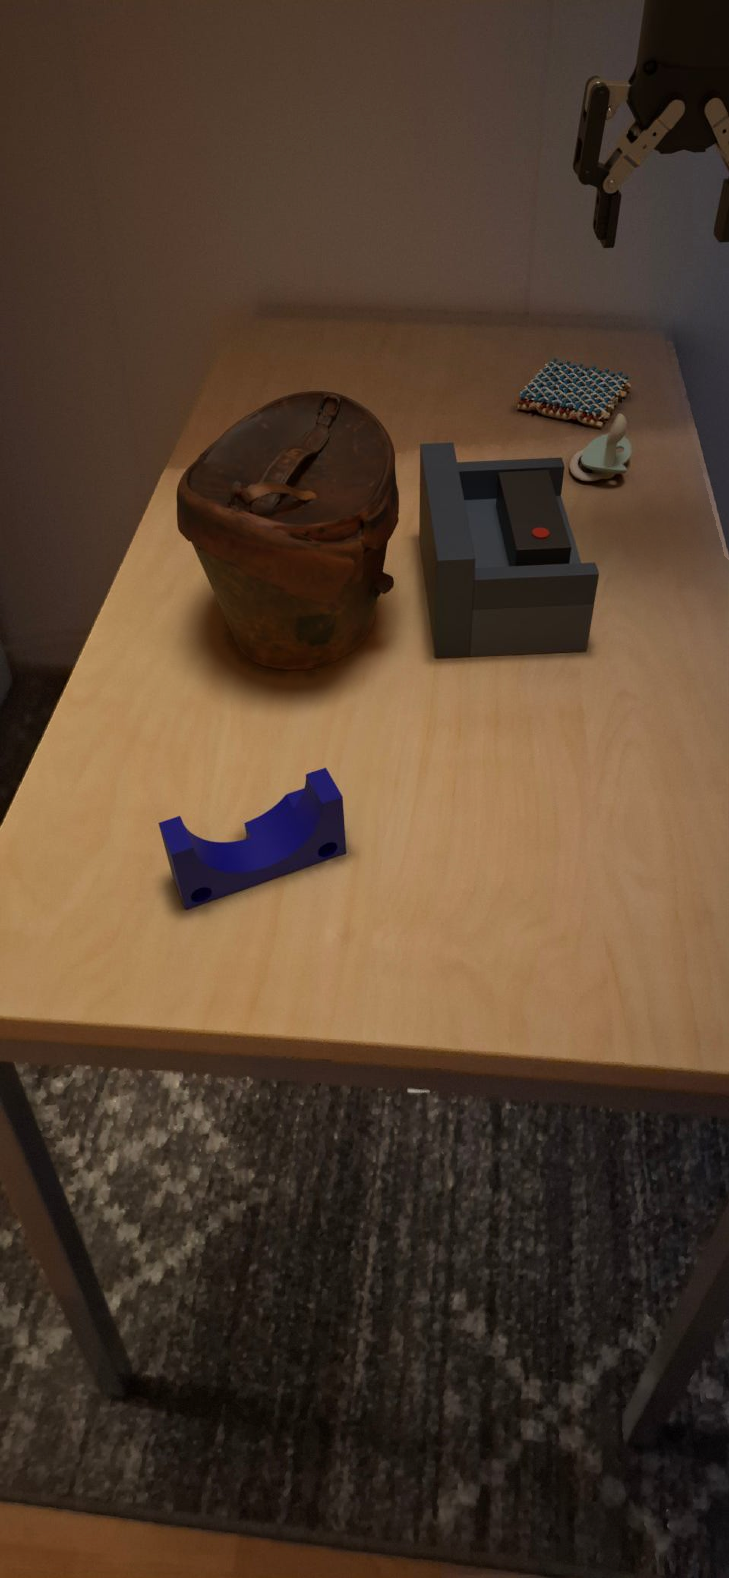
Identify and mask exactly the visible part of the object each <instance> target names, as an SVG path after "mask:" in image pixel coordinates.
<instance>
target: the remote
mask: <svg viewBox="0 0 729 1578" xmlns="http://www.w3.org/2000/svg"><path fill="white" fill-rule="evenodd" d="M496 509H497V514H498V518H499V522H500V527H501V531H502V536H503V540H504V545H505V549H506V553H507V558H508V562H509V566H530V565H552V564H569V562H570V555H571V544H570V541H569V537H568V534H567V531H566V527H565V524H564V521H563V517H562V514H561V511H560V507H559V504H558V501H557V497H556V494H555V491H554V487H553V484H552V481H551V477H550V474H549V471H548V470H540V471H518V472H499V473H498V483H497V497H496Z"/></svg>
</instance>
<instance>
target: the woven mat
mask: <svg viewBox="0 0 729 1578" xmlns="http://www.w3.org/2000/svg"><path fill="white" fill-rule="evenodd" d="M557 361H558V358H556V357H554V358H552V360H551V361H550V362H548V363H545V364H544V366H545V367H544V368H542V369H539V372H538V373H537V374H535V375H534V376H535V378H533V379H530V380H529V382H528V384H527V385H524V388H525V389H523V390H521V391H520V392H519V394H520V395H519V396H518V398H519V401H518V404H517V407H516V409H517V410H519V411H527V412H528V411H529V412H530V411H535V412H536V411H537V412H538V413H539V414H541V415H543V416H546V417H550V418H554V419H558V420H563V421H568V420H574V421H578V422H579V423H581V424H583V425H585V426H588V427H593V428H597V429H600V430H601V429H602V428H603V426H604V422H603V421H605V420H609V419H610V418H611V412H612V411H614V409H615V406H618V403H619V400H620V399H626V397H627V396H628V393H627V391H628V390H630V389H631V388H632V384H631V383H630V382H629V377H630V376H629V375H625V376H623V371H618V373H617V375H616V372H612V373H609V372H610V369H609V368H606V369H604V372H603V370H601V369H599V370H596V368H597V366H591V369H590V368H589V367H583V366H584V363H578V366H577V365H576V364H573V365H570V364H571V361H569V360H566V361H565V364H564V362H563V361H560V362H557ZM608 373H609V374H608Z"/></svg>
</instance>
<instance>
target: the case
mask: <svg viewBox="0 0 729 1578" xmlns="http://www.w3.org/2000/svg"><path fill="white" fill-rule="evenodd" d="M399 515H400V493H399V488H398V484H397V474H396V450H395V447H394V443H393V441H392V439H391V436H390V435H389V433H388V431H387V429H386V428H385V426H384V425H383V424H382V422H381V421H380V420H379V419H378V418H377V416H376V415H375V414H374V413H373V412H371V410H369V409H368V408H366V407H365V406H364V405H362V404H361V403H360V402H358V401H356V400H354V399H352V398H350V397H348V396H346V395H343V394H340V393H337V392H333V391H327V390H309V391H308V390H307V391H301V392H294V393H290V394H288V395H284V396H281V397H279V398H277V399H274V400H272V401H270V402H268V403H265V404H264V405H262V407H260V408H257V409H256V410H254V411H253V412H250V413H249V414H247V415H245V416H244V417H243V418H241V419H239V420H238V421H236V422H235V423H234V424H233V425H232V426H230V427H229V428H228V429H226V430H225V431H224V432H223V433H222V434H221V435H220V436H219V438H217V440H215V441H214V442H212V443H211V444H210V445H208V447H206V448H205V450H204V451H203V452H201V453H200V454H199V455H198V458H196V460H194V461H193V463H192V464H190V465H189V466H188V467H187V468H186V470H185V471H184V472H183V473H182V475H181V477H180V480H179V481H178V484H177V488H176V522H177V523H176V525H177V529H178V531H179V533H180V534H181V536H182V537H184V539H186V541H188V542H190V543H191V544H192V546H193V549H194V551H195V554H196V556H197V558H198V560H199V563H200V564H201V567H202V569H203V571H204V573H205V576H206V578H207V580H208V583H209V584H210V587H211V590H212V592H213V594H214V596H215V598H216V601H217V603H218V605H219V608H220V609H221V612H222V614H223V616H224V619H225V621H226V624H227V625H228V628H229V630H230V633H231V636H232V639H233V640H234V642H235V644H236V646H237V647H238V649H239V651H241V653H242V654H243V655H244V656H245V657H247V658H248V659H250V660H251V661H252V662H254V663H256V664H258V665H260V666H264V667H266V668H270V669H275V670H307V669H314V668H319V667H323V666H325V665H329V664H330V663H333V662H335V661H337V660H339V659H341V658H343V657H345V656H347V655H348V654H350V653H351V652H352V651H354V650H355V649H356V648H357V647H358V646H360V644H362V643H363V641H364V640H365V639H366V637H367V636H368V635H369V633H370V631H371V629H372V627H373V623H374V620H375V619H374V618H375V615H376V610H377V604H378V599H379V598H380V596H381V594H382V595H386V594H388V593H389V592H390V591H391V590H392V589H393V588H394V586H395V579H394V577H393V576H392V575H391V574H388V573H386V572H384V568H385V567H384V566H385V562H386V554H387V549H388V543H389V540H390V539H391V538H392V536H393V534H394V532H395V530H396V528H397V526H398V523H399V521H400V520H399V519H400V518H399Z"/></svg>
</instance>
